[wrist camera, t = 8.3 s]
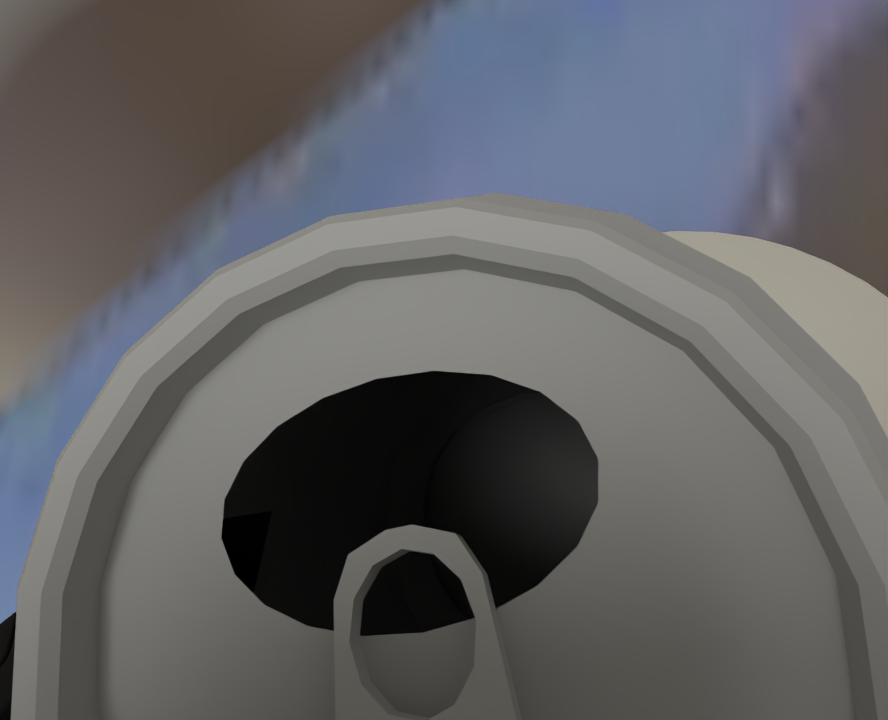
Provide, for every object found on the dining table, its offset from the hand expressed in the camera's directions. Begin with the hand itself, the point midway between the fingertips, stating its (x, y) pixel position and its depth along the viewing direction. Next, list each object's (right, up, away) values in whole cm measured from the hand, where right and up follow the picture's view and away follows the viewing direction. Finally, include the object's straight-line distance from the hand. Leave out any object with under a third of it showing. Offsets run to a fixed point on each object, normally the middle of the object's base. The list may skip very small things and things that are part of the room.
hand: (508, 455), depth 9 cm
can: (+2, -2, +6) cm, 7 cm away
